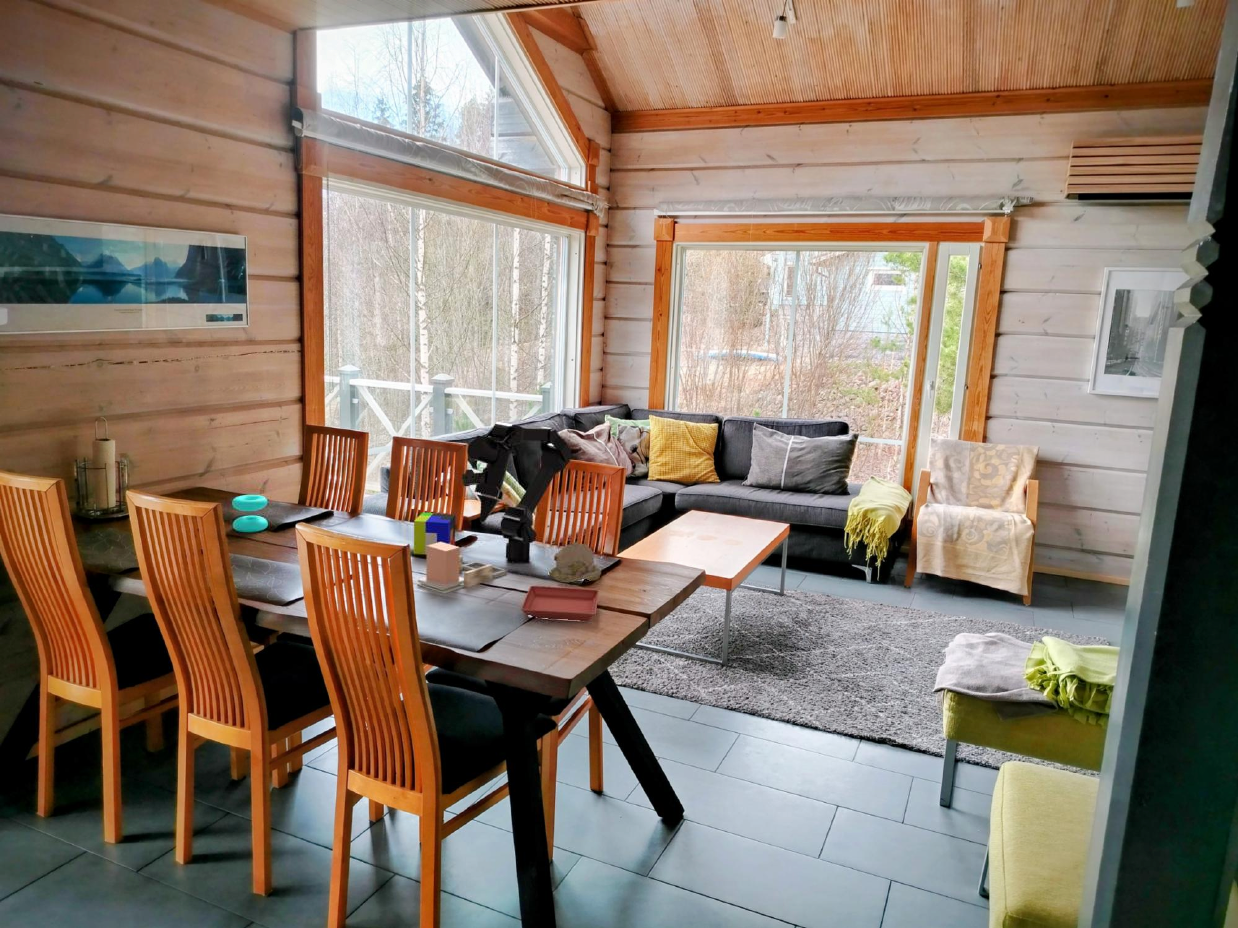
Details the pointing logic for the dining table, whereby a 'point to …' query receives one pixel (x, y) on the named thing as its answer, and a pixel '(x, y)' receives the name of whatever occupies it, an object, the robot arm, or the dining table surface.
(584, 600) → the plant saucer
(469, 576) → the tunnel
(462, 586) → the pad
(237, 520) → the donuts
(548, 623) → the dining table surface
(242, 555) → the dining table surface
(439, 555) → the block sled
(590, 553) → the ceramic model
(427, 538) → the puzzle toy
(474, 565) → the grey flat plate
